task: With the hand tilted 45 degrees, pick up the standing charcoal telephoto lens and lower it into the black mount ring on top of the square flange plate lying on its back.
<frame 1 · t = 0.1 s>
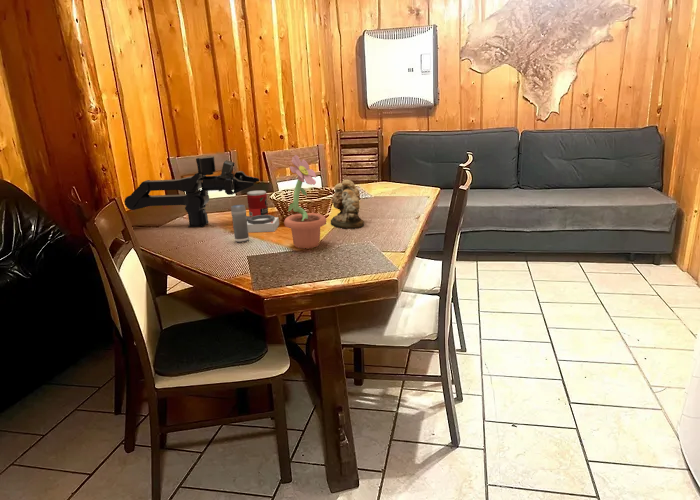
hand: (256, 181, 195), 17 cm above the table, tool horizontal, fingers open, 9 cm apart
canned food: (259, 218, 208), on the table
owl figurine: (346, 224, 192), on the table
square flange plate: (260, 228, 191), on the table
lens: (242, 240, 176), on the table
decorative flower: (306, 246, 166), on the table
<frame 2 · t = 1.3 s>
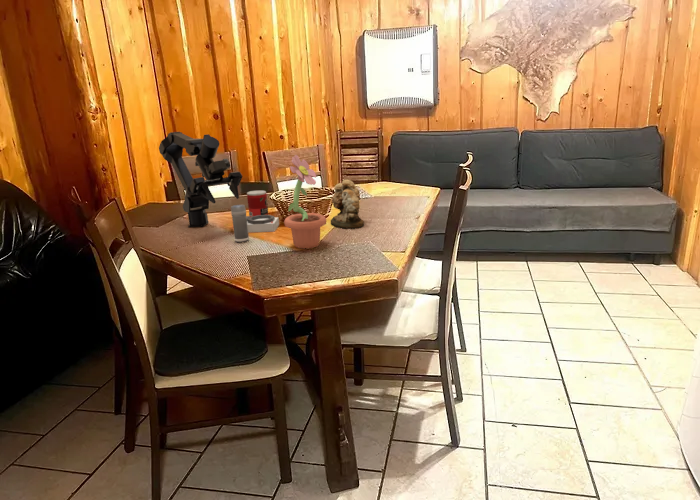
hand: (226, 200, 178), 13 cm above the table, tool tilted 45°, fingers open, 9 cm apart
nothing on the table moved.
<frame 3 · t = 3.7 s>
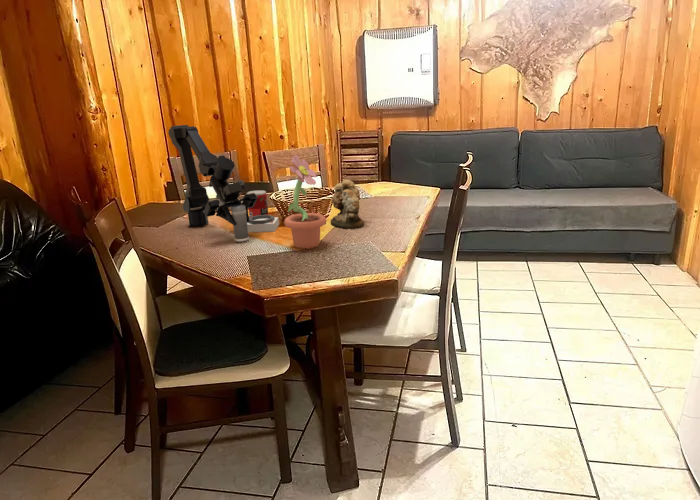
hand: (241, 223, 173), 7 cm above the table, tool tilted 45°, fingers closed on lens, 5 cm apart
lens: (242, 240, 176), on the table, touching gripper
everything else where it was.
when the fingers open (11 cm above the table, at t = 7.1 s): lens drops 1 cm, resting on square flange plate.
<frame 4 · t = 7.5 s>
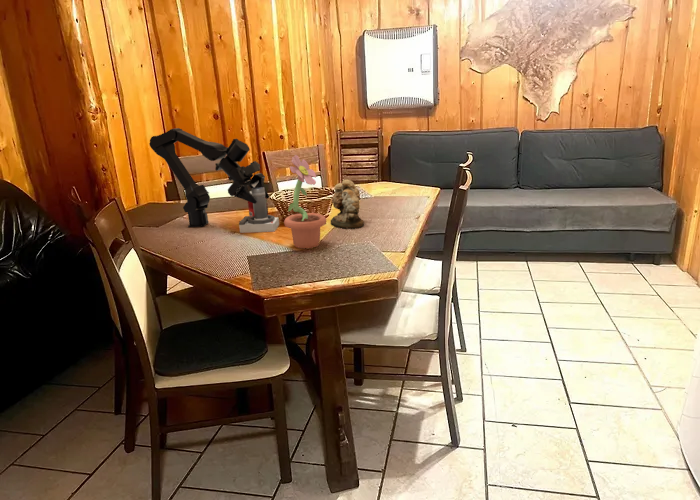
hand: (262, 200, 187), 11 cm above the table, tool tilted 45°, fingers open, 9 cm apart
lens: (261, 220, 190), point 3 cm above the table, touching square flange plate
everything else where it was.
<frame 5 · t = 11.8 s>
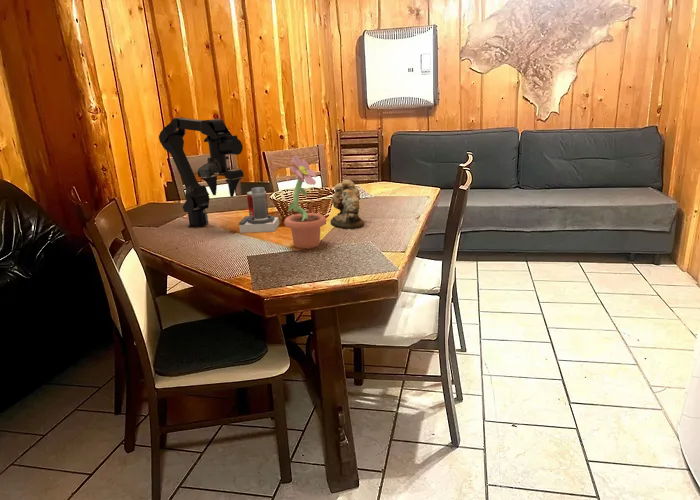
hand: (223, 196, 189), 13 cm above the table, tool pointing down, fingers open, 9 cm apart
nothing on the table moved.
at the end: lens 0.0 cm off-centre on the square flange plate, point 3.0 cm above the square flange plate's base; lens tilted 1°; the gripper is holding nothing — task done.
